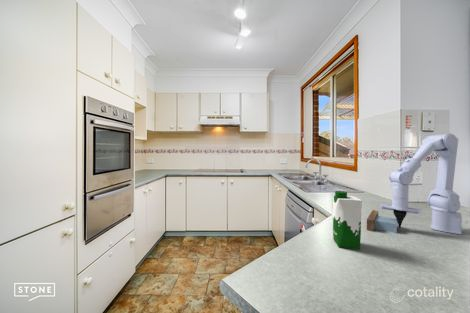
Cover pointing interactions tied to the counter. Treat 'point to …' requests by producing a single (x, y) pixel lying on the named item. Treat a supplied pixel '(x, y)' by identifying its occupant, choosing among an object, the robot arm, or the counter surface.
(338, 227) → the milk carton
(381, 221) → the block
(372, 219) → the board
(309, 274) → the counter surface
